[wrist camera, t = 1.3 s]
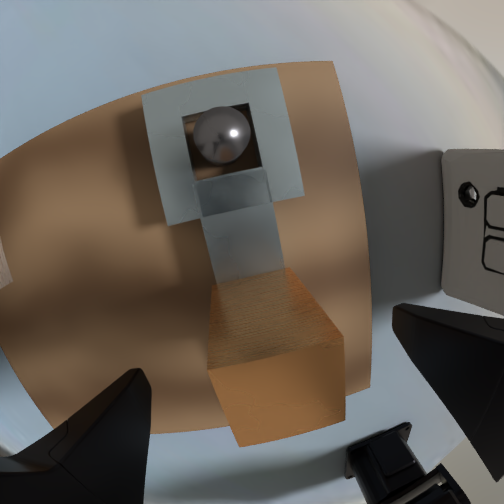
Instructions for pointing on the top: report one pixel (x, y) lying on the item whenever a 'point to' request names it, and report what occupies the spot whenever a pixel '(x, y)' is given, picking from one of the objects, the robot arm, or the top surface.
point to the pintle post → (221, 135)
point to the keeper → (4, 269)
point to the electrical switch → (474, 227)
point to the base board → (163, 254)
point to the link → (250, 262)
